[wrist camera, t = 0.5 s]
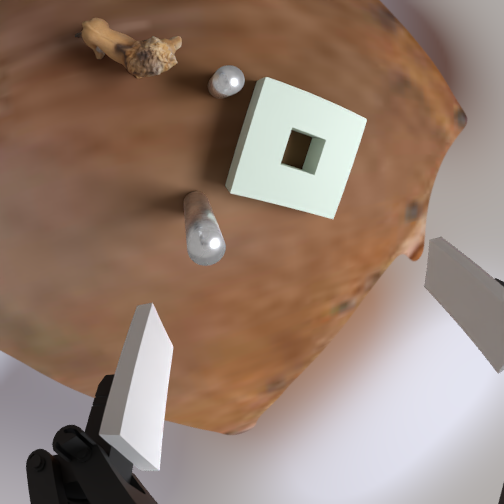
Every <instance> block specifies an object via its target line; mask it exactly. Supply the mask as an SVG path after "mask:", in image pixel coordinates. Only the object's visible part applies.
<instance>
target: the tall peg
mask: <svg viewBox="0 0 504 504" xmlns="http://www.w3.org/2000/svg"><path fill="white" fill-rule="evenodd" d="M183 204H184V217H185V229H186V240H187V250H188V254H189V257H190V258H191V259H192V260H193V261H194V262H195V263H197V264H199V265H204V266H207V265H212V264H215V263H216V262H218V261H219V260H220V259H221V258H222V257H223V255H224V253H225V248H226V246H225V242H224V239H223V236H222V234H221V231H220V229H219V226H218V224H217V221H216V218H215V216H214V213H213V211H212V208H211V205H210V203H209V200H208V198H207V196H206V195H205V194H204V193H203V192H200V191H193V192H190V193H189V194H187V196H186V197H185V199H184V203H183Z"/></svg>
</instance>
